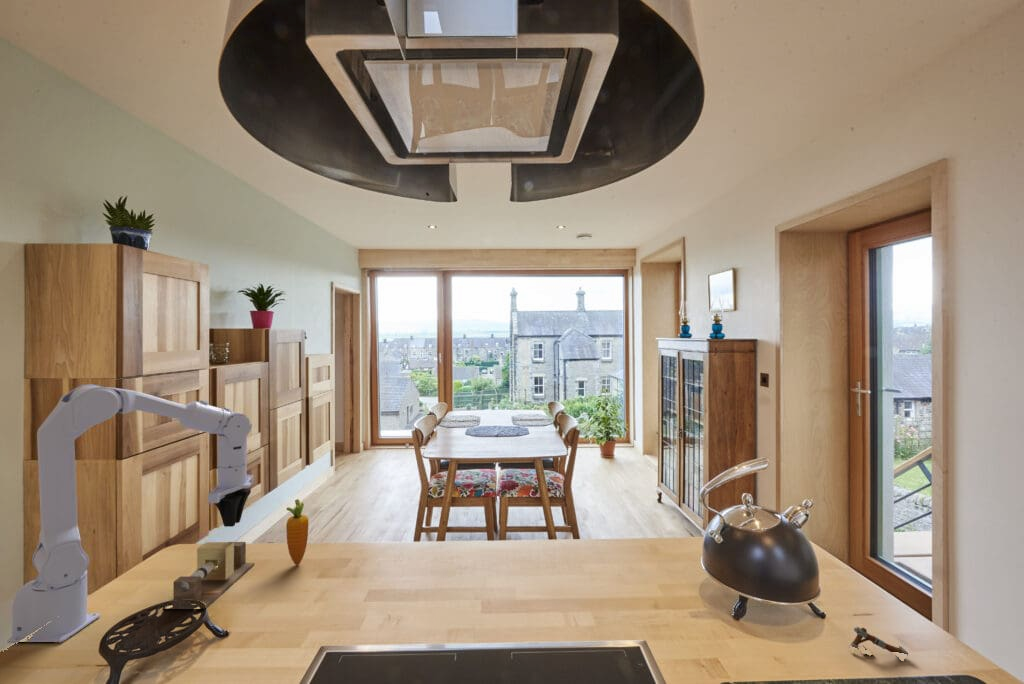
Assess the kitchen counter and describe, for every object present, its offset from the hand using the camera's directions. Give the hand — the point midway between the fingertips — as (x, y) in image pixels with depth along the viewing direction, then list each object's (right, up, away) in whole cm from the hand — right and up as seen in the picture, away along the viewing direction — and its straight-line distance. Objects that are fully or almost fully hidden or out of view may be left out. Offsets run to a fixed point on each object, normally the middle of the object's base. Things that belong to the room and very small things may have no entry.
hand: (232, 524), depth 106 cm
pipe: (0, -7, -7) cm, 10 cm away
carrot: (+14, -11, +2) cm, 18 cm away
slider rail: (0, -10, -7) cm, 13 cm away
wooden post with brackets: (+125, -11, -29) cm, 129 cm away
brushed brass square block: (0, -9, -6) cm, 11 cm away
